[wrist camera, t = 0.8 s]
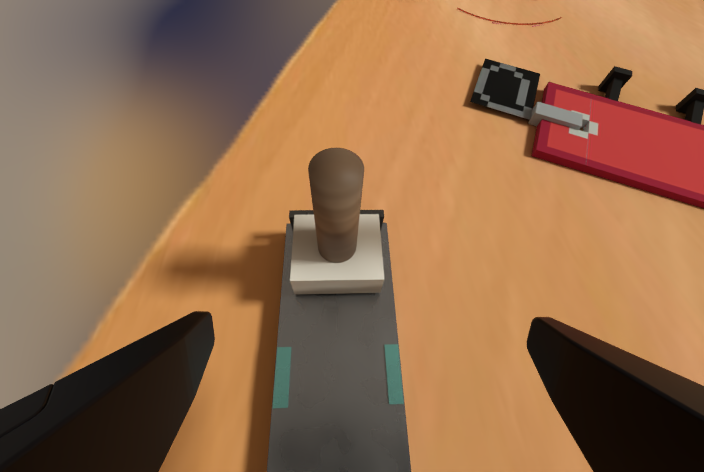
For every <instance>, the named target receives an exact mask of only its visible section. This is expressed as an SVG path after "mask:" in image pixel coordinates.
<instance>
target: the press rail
mask: <svg viewBox="0 0 704 472" xmlns="http://www.w3.org/2000/svg"><path fill="white" fill-rule="evenodd" d="M360 214H379V222H380V233H381V245H382V257H383V268H384V282H383V286H382V289H381V292H380V293H341V294H294V291H293V288H292V285H291V282H290V273H291V259H292V244H293V229H294V215H314V212H313V210H298V211H290V213H289V219H290V223H291V224H287V227H286V239H285V252H284V264H283V276H282V289H281V301H280V314H279V326H278V339H277V351H276V364H275V376H274V389H273V401H272V414H271V426H270V439H269V451H268V463H267V472H411V465H410V455H409V445H408V435H407V425H406V415H405V405H404V395H403V384H402V374H401V364H400V354H399V344H398V334H397V324H396V313H395V303H394V293H393V283H392V273H391V263H390V253H389V242H388V232H387V223H383V219H384V210H360Z"/></svg>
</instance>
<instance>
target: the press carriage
mask: <svg viewBox="0 0 704 472" xmlns="http://www.w3.org/2000/svg"><path fill="white" fill-rule="evenodd" d="M308 170H309V179H310V187H311V195H312V203H313V212H314V215H294V229H293V244H292V259H291V273H290V282H291V285H292V288H293V291H294V294H341V293H380V292H381V289H382V286H383V282H384V268H383V257H382V245H381V233H380V222H379V214H360V207H361V197H362V187H363V177H364V165H363V162H362V160H361V159H360V157H359V156H358V155H356V154H355V153H354V152H352V151H350V150H347V149H343V148H329V149H325V150H323V151H320V152H319V153H317V154H316V155H315V156H314V157H313V158H312V159H311V161H310V163H309V168H308Z"/></svg>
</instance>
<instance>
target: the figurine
mask: <svg viewBox="0 0 704 472" xmlns="http://www.w3.org/2000/svg"><path fill="white" fill-rule="evenodd" d="M457 9H459V8H457ZM459 10H461V9H459ZM461 11H463V12H465V13H467V14H470V15H473V14H471V13H468V12H466V11H464V10H461ZM473 16H475V17H478V18H482V17H479V16H476V15H473ZM561 18H562V17H561ZM482 19H485V20H489V21H493V22H492V23H495V22H499V23H495V24H500V23H505V24H516V25H533V24H543V23H547V22H552V21H555V20H558V19H560V18H558V19H555V20H552V21H547V22H542V23H532V24H518V23H506V22H500V21H495V20H490V19H486V18H482ZM534 26H539V25H534ZM534 26H532V27H534Z"/></svg>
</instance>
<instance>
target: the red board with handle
mask: <svg viewBox="0 0 704 472" xmlns="http://www.w3.org/2000/svg"><path fill="white" fill-rule="evenodd" d="M539 77H540V74H539V73H536V72H532V71H528V70H525V69H521V68H518V67H514V66H510V65H507V64H503V63H499V62H496V61H492V60H489V59H485V61H484V64H483V67H482V70H481V72H480V75H479V78H478V81H477V84H476V87H475V90H474V92H473V95H472V98H471V101H470V102H473V103H476V104H479V105H483V106H486V107H489V108H493V109H496V110H499V111H503V112H506V113H509V114H513V115H516V116H519V117H523V118H526V119H529V121H528V124H531V125H534V126H537V129H536V135H535V140H534V145H533V151H532V156H533V157H536V158H540V159H543V160H546V161H549V162H553V163H556V164H559V165H563V166H566V167H569V168H572V169H576V170H579V171H582V172H586V173H589V174H592V175H595V176H599V177H602V178H605V179H609V180H612V181H615V182H619V183H622V184H625V185H628V186H632V187H635V188H638V189H642V190H645V191H648V192H651V193H655V194H658V195H661V196H665V197H668V198H671V199H674V200H678V201H681V202H684V203H688V204H691V205H694V206H697V207H701V208H704V125H701V121H702V115H703V110H704V90H702V89H699V88H695V89H694V90H693V91H692V92H691V93H689V94H688V95H687V96H686V97H685V98H684V99H683V100H682V101H681V102H679V103H678V104H677V105H676V111H678V112H682V113H685V114H686V115H685V120H684V119H680V118H676V117H673V116H669V115H666V114H662V113H658V112H655V111H651V110H648V109H644V108H641V107H637V106H633V105H630V104H626V103H623V102H619V101H618V98H619V95H620V91H621V88H622V87H623V86H624V85H625V83H626V82H627V81H628V80H629V79H630V78H631V77H632V71H631V70H627V69H623V68H619V67H615V66H614V68H613V69H612V70H611V71H610V73H609V74H608V75H607V76H606V78H605V79H604V80H603V81H602V83H601V84H600V85H599V91H602V92H606V95H605V97H601V96H598V95H594V94H590V93H587V92H583V91H580V90H576V89H573V88H569V87H565V86H562V85H558V84H555V83H551V82H548V84H547V85H546V87H545V88H544V92H543V98H542V103H541V102H537V103H536V105H535V106H534V101H535V96H536V91H537V87H538V82H539ZM533 106H534V108H533ZM581 127H582V128H583V131H581V130H579V129H580V128H581Z"/></svg>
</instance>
